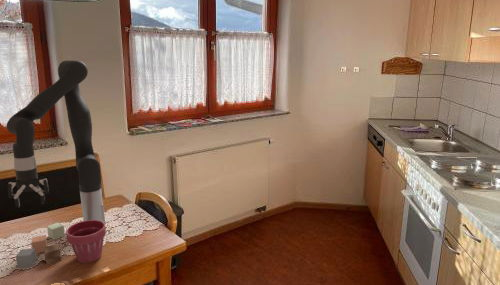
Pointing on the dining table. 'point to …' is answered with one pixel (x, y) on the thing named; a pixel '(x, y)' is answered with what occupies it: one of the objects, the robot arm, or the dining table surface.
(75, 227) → the plant pot
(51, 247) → the walnut cube
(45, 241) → the terracotta cube
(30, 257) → the slate cube
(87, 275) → the dining table surface
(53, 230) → the sage cube
